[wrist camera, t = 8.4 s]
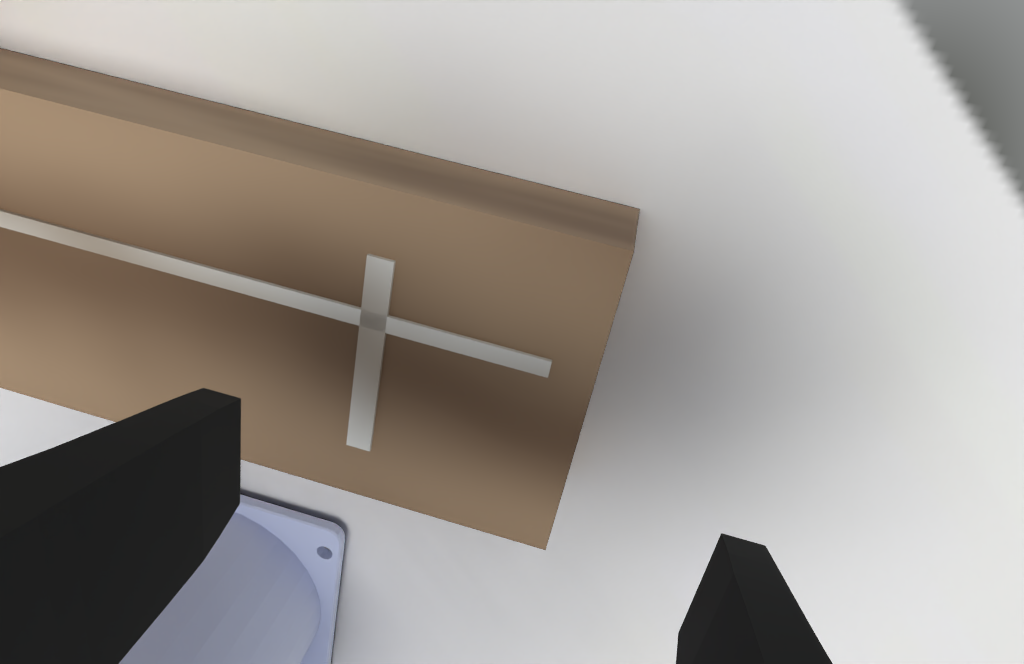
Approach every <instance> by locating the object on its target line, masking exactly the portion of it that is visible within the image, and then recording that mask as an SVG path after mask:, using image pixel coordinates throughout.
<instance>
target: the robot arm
mask: <svg viewBox="0 0 1024 664" xmlns="http://www.w3.org/2000/svg"><path fill="white" fill-rule="evenodd" d="M240 461H241V398H238V397H235V396H231V395H228V394H224V393H220V392H217V391H213V390H210V389H206V388H201V389H199V390H196V391H193V392H190V393H187V394H185V395H182V396H179V397H177V398H174V399H172V400H169V401H167V402H164V403H162V404H159V405H157V406H154V407H152V408H150V409H147V410H145V411H142V412H140V413H138V414H135V415H133V416H130V417H128V418H125V419H123V420H121V421H118V422H116V423H113V424H111V425H108V426H106V427H103V428H101V429H98V430H96V431H94V432H91V433H89V434H86V435H84V436H81V437H79V438H76V439H74V440H71V441H69V442H66V443H64V444H61V445H59V446H56V447H54V448H51V449H48V450H46V451H43V452H40V453H38V454H35V455H32V456H29V457H27V458H24V459H21V460H18V461H16V462H13V463H10V464H8V465H5V466H2V467H0V664H331V656H332V647H333V638H334V630H335V621H336V613H337V604H338V596H339V587H340V579H341V570H342V561H343V553H344V544H345V533H344V532H343V530H342V528H341V527H339V526H338V525H337V524H335V523H333V522H330V521H327V520H323V519H320V518H317V517H313V516H310V515H307V514H304V513H300V512H297V511H294V510H290V509H287V508H284V507H280V506H277V505H274V504H271V503H267V502H264V501H261V500H257V499H254V498H251V497H247V496H244V495H241V494H240ZM325 547H327V548H329V549H330V550H328V549H326V548H325ZM676 664H832V662H831V660H830V659H829V657H828V655H827V654H826V652H825V650H824V649H823V647H822V645H821V643H820V642H819V640H818V638H817V637H816V635H815V633H814V631H813V630H812V628H811V626H810V624H809V622H808V621H807V619H806V617H805V615H804V614H803V612H802V610H801V608H800V607H799V605H798V603H797V601H796V599H795V598H794V596H793V594H792V592H791V591H790V589H789V587H788V585H787V583H786V582H785V580H784V578H783V576H782V574H781V573H780V571H779V569H778V567H777V566H776V564H775V562H774V560H773V558H772V557H771V555H770V553H769V551H768V550H767V548H766V546H764V545H761V544H757V543H754V542H750V541H747V540H743V539H740V538H736V537H732V536H729V535H725V534H722V533H721V536H720V538H719V540H718V543H717V545H716V547H715V550H714V552H713V554H712V557H711V559H710V561H709V564H708V566H707V568H706V570H705V573H704V575H703V577H702V580H701V582H700V584H699V587H698V589H697V591H696V594H695V596H694V598H693V601H692V603H691V605H690V608H689V610H688V612H687V615H686V617H685V619H684V622H683V624H682V626H681V629H680V631H679V633H678V646H677V658H676Z"/></svg>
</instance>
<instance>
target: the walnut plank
mask: <svg viewBox="0 0 1024 664" xmlns="http://www.w3.org/2000/svg"><path fill="white" fill-rule="evenodd" d="M639 210H640V209H637V208H633V207H629V206H625V205H621V204H617V203H613V202H609V201H605V200H601V199H597V198H593V197H589V196H585V195H581V194H577V193H573V192H569V191H565V190H561V189H558V188H554V187H550V186H546V185H542V184H538V183H534V182H530V181H526V180H522V179H518V178H514V177H510V176H506V175H502V174H498V173H494V172H490V171H486V170H482V169H478V168H474V167H470V166H466V165H462V164H458V163H454V162H450V161H446V160H442V159H438V158H434V157H430V156H426V155H422V154H418V153H415V152H411V151H407V150H403V149H399V148H395V147H391V146H387V145H383V144H379V143H375V142H371V141H367V140H363V139H359V138H355V137H351V136H347V135H343V134H339V133H335V132H331V131H327V130H323V129H319V128H315V127H311V126H307V125H303V124H299V123H295V122H291V121H287V120H283V119H279V118H275V117H272V116H268V115H264V114H260V113H256V112H252V111H248V110H244V109H240V108H236V107H232V106H228V105H224V104H220V103H216V102H212V101H208V100H204V99H200V98H196V97H192V96H188V95H184V94H180V93H176V92H172V91H168V90H164V89H160V88H156V87H152V86H148V85H144V84H140V83H136V82H132V81H129V80H125V79H121V78H117V77H113V76H109V75H105V74H101V73H97V72H93V71H89V70H85V69H81V68H77V67H73V66H69V65H65V64H61V63H57V62H53V61H49V60H45V59H41V58H37V57H33V56H29V55H25V54H21V53H17V52H13V51H9V50H5V49H1V48H0V388H3V389H7V390H10V391H13V392H17V393H20V394H24V395H27V396H30V397H34V398H37V399H40V400H44V401H47V402H50V403H54V404H57V405H60V406H64V407H67V408H70V409H74V410H77V411H81V412H84V413H87V414H91V415H94V416H97V417H101V418H104V419H107V420H111V421H114V422H118V421H121V420H123V419H125V418H128V417H130V416H133V415H135V414H138V413H140V412H142V411H145V410H147V409H150V408H152V407H154V406H157V405H159V404H162V403H164V402H167V401H169V400H172V399H174V398H177V397H179V396H182V395H185V394H187V393H190V392H193V391H196V390H199V389H201V388H206V389H210V390H213V391H217V392H220V393H224V394H228V395H231V396H235V397H238V398H241V459H242V460H245V461H248V462H252V463H255V464H258V465H262V466H265V467H268V468H272V469H275V470H278V471H282V472H285V473H288V474H292V475H295V476H299V477H302V478H305V479H309V480H312V481H315V482H319V483H322V484H325V485H329V486H332V487H335V488H339V489H342V490H346V491H349V492H352V493H356V494H359V495H362V496H366V497H369V498H372V499H376V500H379V501H382V502H386V503H389V504H392V505H396V506H399V507H403V508H406V509H409V510H413V511H416V512H419V513H423V514H426V515H429V516H433V517H436V518H439V519H443V520H446V521H449V522H453V523H456V524H460V525H463V526H466V527H470V528H473V529H476V530H480V531H483V532H486V533H490V534H493V535H496V536H500V537H503V538H507V539H510V540H513V541H517V542H520V543H523V544H527V545H530V546H533V547H537V548H540V549H543V550H546V546H547V543H548V539H549V536H550V533H551V529H552V526H553V523H554V519H555V516H556V512H557V509H558V506H559V502H560V499H561V496H562V492H563V489H564V485H565V482H566V479H567V475H568V472H569V469H570V465H571V462H572V458H573V455H574V452H575V448H576V445H577V442H578V438H579V435H580V431H581V428H582V425H583V421H584V418H585V415H586V411H587V408H588V404H589V401H590V398H591V394H592V391H593V388H594V384H595V381H596V377H597V374H598V371H599V367H600V364H601V361H602V357H603V354H604V350H605V347H606V344H607V340H608V337H609V334H610V330H611V327H612V323H613V320H614V317H615V313H616V310H617V307H618V303H619V300H620V296H621V293H622V290H623V286H624V283H625V279H626V276H627V273H628V269H629V266H630V263H631V259H632V256H633V252H634V247H635V239H636V232H637V225H638V218H639Z"/></svg>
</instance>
